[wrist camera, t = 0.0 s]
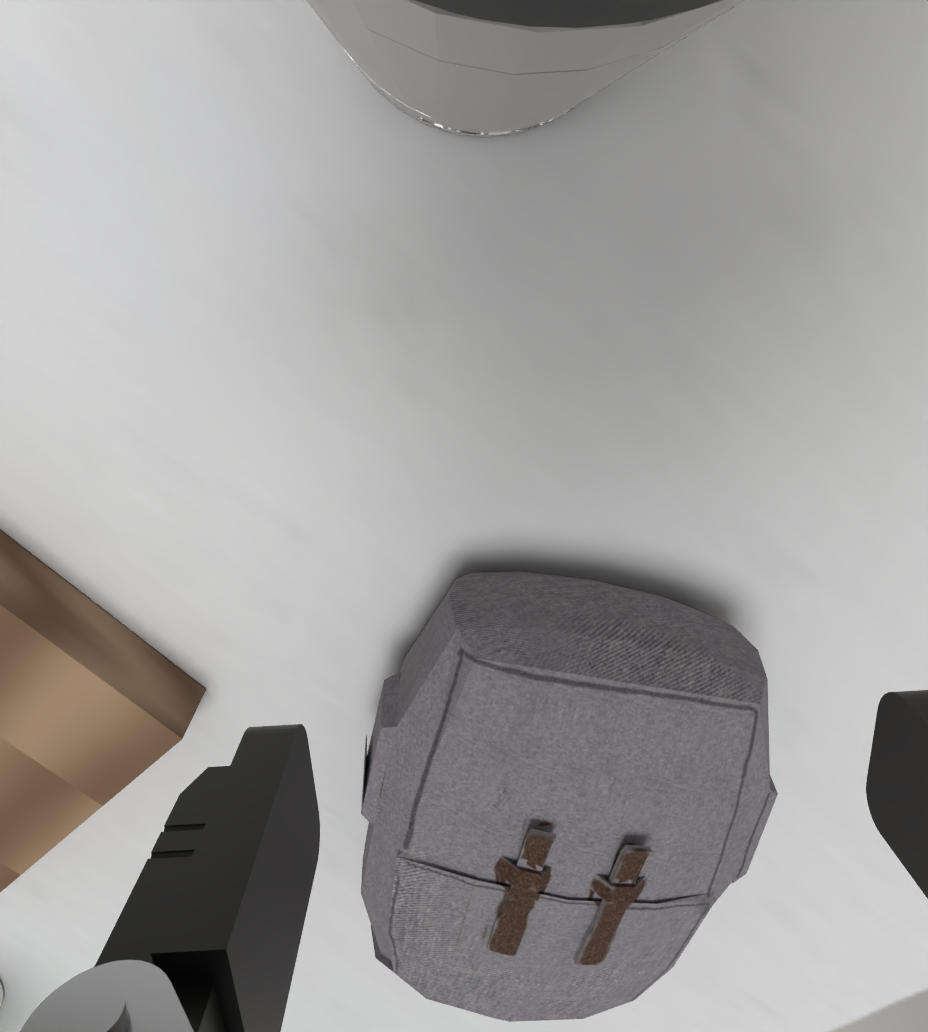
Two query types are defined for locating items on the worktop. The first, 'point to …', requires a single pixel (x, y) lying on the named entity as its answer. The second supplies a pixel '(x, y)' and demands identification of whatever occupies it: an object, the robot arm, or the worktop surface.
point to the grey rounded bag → (559, 793)
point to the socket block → (72, 708)
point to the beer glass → (1, 994)
